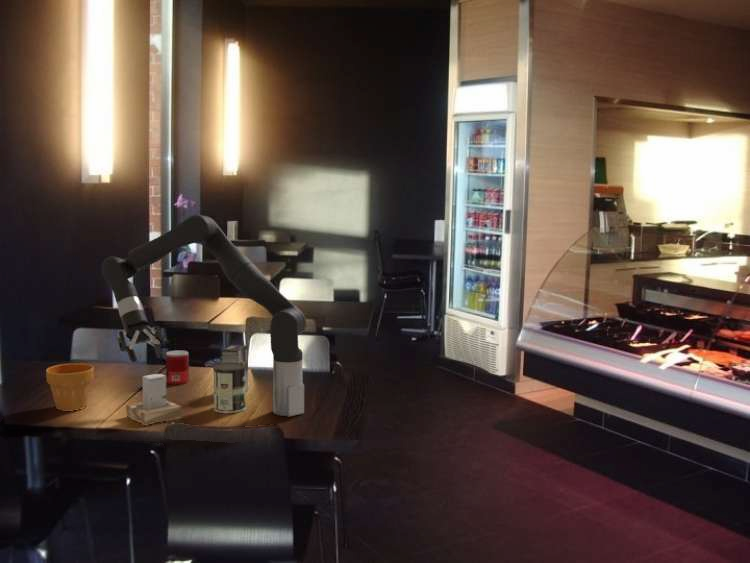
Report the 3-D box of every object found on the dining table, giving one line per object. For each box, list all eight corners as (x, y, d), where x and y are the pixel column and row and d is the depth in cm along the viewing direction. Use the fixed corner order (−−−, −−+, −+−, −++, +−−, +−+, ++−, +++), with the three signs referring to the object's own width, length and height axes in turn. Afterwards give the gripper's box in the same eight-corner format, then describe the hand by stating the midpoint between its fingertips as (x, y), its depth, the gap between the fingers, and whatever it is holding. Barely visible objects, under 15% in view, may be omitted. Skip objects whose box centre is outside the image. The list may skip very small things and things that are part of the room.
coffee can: (243, 403, 267) (243, 361, 265) (247, 412, 257) (247, 369, 255) (212, 405, 264) (211, 363, 262) (215, 414, 254) (214, 370, 252)
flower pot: (68, 417, 249) (67, 375, 247) (37, 409, 255) (36, 369, 254) (104, 406, 261) (103, 366, 259) (74, 399, 268) (72, 361, 266)
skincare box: (149, 417, 246) (148, 378, 245) (142, 414, 249) (141, 376, 248) (167, 413, 250) (166, 375, 249) (160, 410, 254) (159, 372, 252)
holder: (181, 418, 249) (180, 406, 249) (145, 425, 241) (145, 413, 241) (161, 409, 258) (161, 398, 258) (126, 416, 250) (126, 404, 249)
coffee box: (231, 388, 284) (231, 344, 282) (248, 390, 283) (248, 345, 281) (221, 395, 275) (220, 349, 273) (239, 397, 274) (238, 350, 272)
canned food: (193, 382, 292) (192, 352, 291) (174, 386, 286) (173, 356, 285) (181, 378, 297) (180, 349, 296) (162, 382, 292) (161, 352, 290)
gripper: (115, 311, 253) (130, 358, 249) (156, 305, 263) (172, 351, 259) (107, 321, 258) (122, 367, 254) (148, 315, 268) (163, 360, 264)
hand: (147, 359), depth 256 cm, fingers open, 8 cm apart
